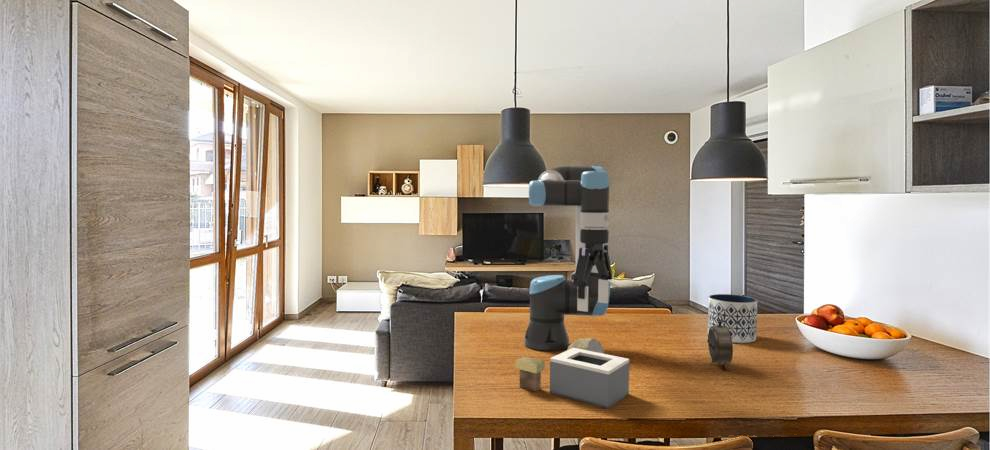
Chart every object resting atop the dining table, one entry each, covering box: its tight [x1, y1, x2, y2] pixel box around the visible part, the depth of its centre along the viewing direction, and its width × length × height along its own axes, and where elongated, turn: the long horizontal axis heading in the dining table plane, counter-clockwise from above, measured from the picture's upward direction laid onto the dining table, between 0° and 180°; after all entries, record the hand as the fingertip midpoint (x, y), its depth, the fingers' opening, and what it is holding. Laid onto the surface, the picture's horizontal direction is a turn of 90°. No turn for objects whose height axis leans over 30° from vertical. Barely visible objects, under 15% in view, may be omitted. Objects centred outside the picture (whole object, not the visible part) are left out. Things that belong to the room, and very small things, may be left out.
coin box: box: [549, 348, 630, 410], centre depth 130 cm, size 16×12×9 cm
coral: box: [566, 337, 605, 354], centre depth 149 cm, size 10×10×10 cm
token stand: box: [519, 369, 542, 392], centre depth 134 cm, size 5×2×5 cm, turn 52°
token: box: [515, 355, 546, 374], centre depth 134 cm, size 6×4×2 cm, turn 52°
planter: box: [707, 293, 758, 344], centre depth 185 cm, size 16×16×14 cm
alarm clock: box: [706, 312, 734, 372], centre depth 153 cm, size 11×5×16 cm, turn 170°
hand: (593, 306), depth 140 cm, fingers open, 13 cm apart
